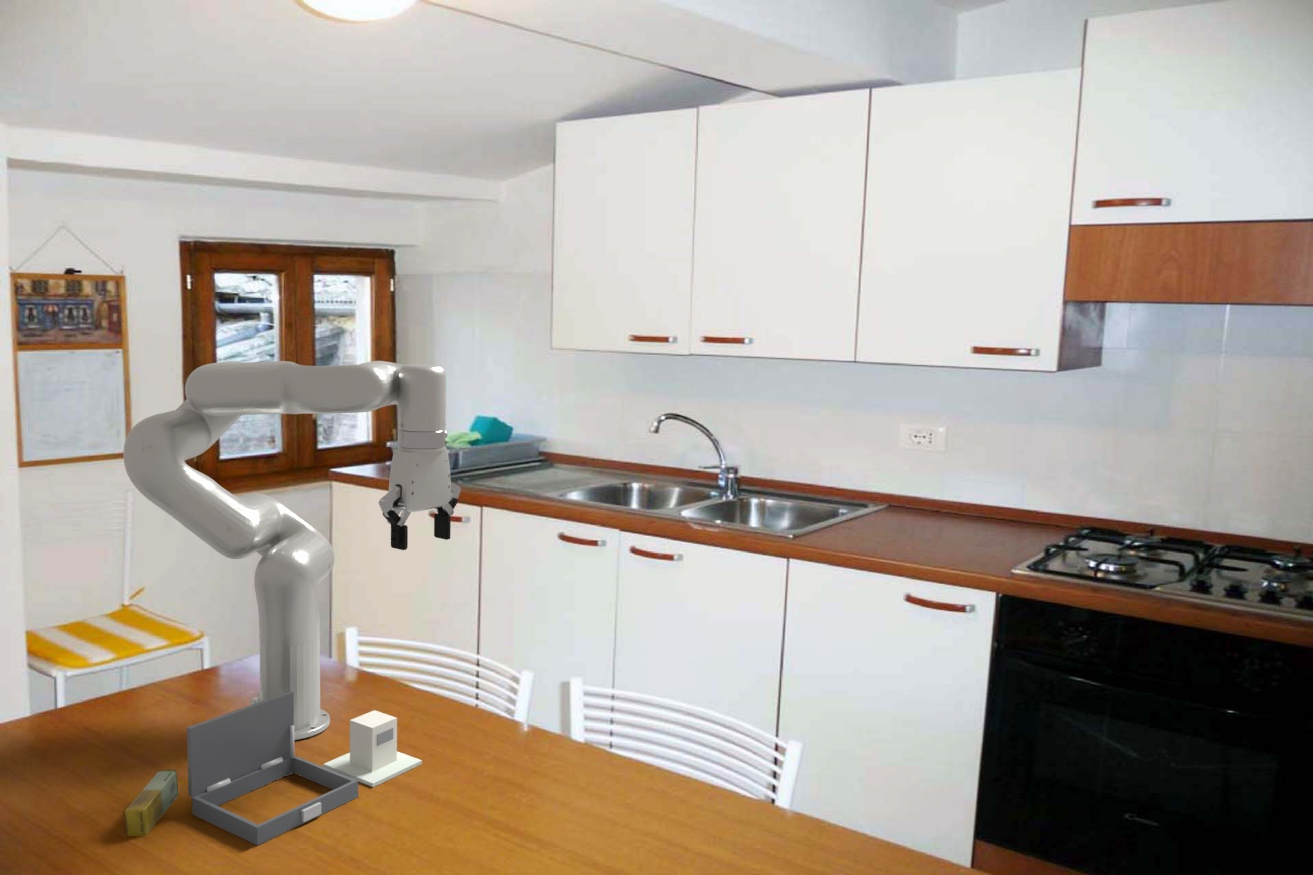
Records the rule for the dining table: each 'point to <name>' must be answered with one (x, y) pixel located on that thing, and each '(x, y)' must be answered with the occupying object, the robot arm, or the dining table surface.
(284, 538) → the robot arm
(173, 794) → the medication box
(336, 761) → the mat
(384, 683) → the dining table surface
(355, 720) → the block
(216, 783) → the case
